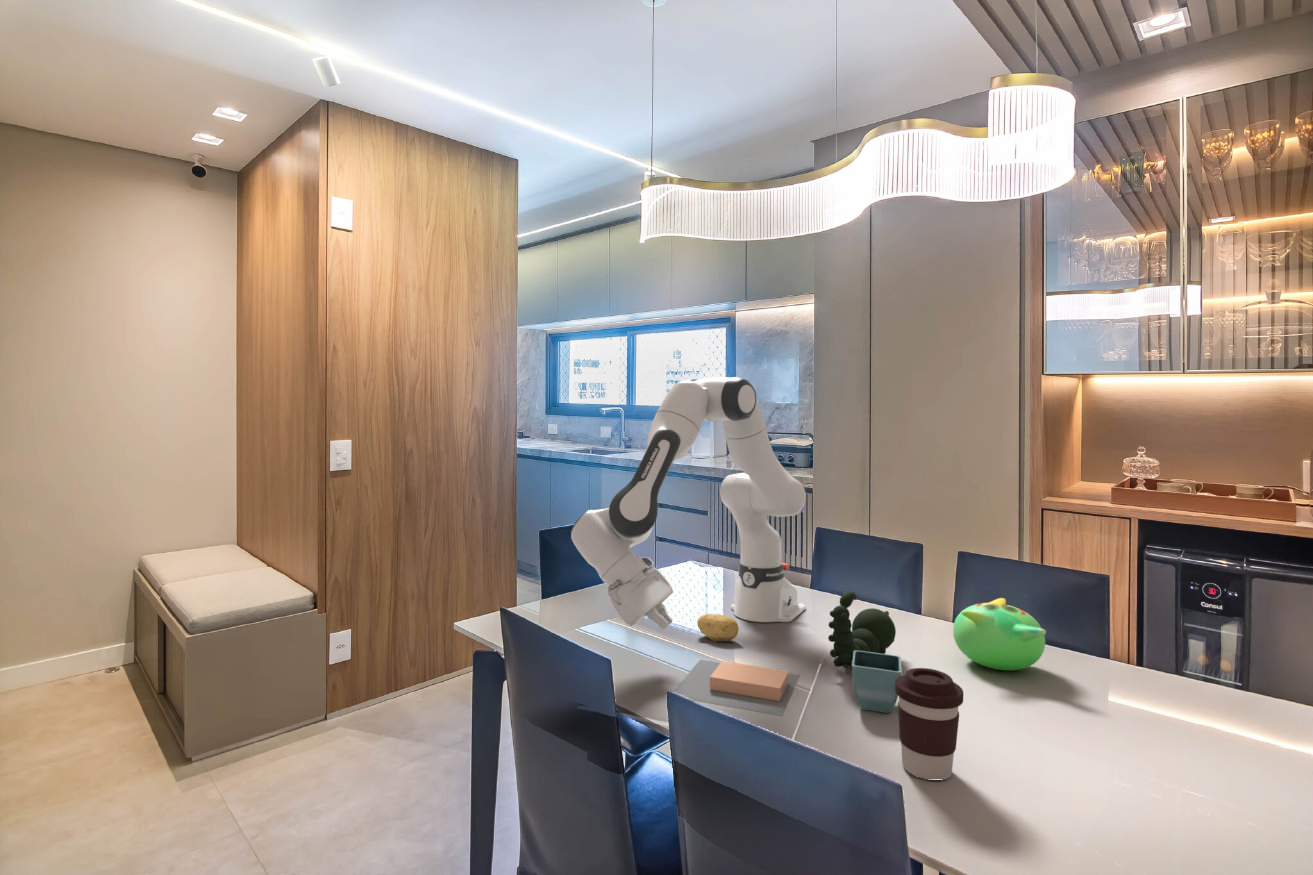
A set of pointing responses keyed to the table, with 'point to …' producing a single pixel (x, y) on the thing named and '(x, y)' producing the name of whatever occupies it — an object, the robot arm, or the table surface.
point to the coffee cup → (928, 721)
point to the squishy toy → (999, 636)
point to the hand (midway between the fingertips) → (668, 625)
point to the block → (749, 680)
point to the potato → (718, 627)
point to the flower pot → (875, 680)
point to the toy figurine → (859, 631)
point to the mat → (699, 690)
